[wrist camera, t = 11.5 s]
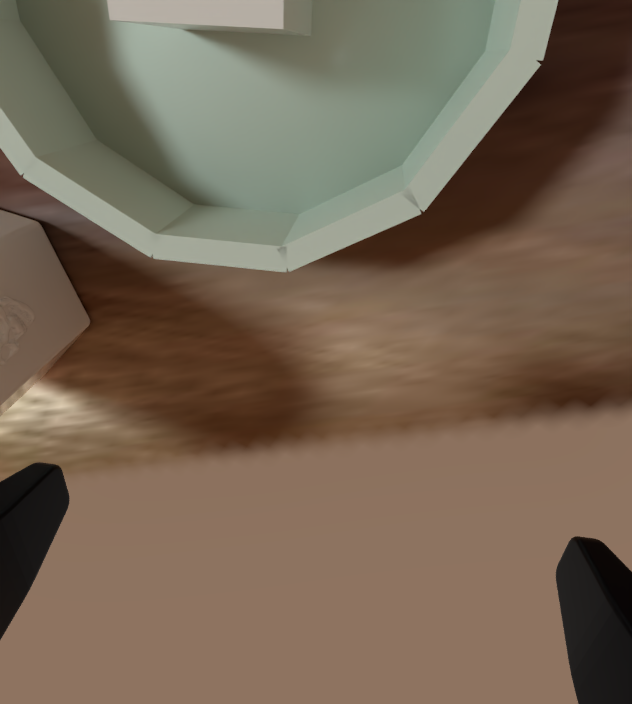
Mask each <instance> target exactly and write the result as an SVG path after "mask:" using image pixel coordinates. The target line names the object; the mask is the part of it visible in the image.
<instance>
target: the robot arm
mask: <svg viewBox="0 0 632 704" xmlns="http://www.w3.org/2000/svg"><path fill="white" fill-rule="evenodd" d="M68 505H69V493H68V490H67V486H66V483H65V479H64V476H63V472H62V469H61V468H60V467H59V466H58V465H55V464H48V463H40V462H38V463H34V464H31V465H29V466H28V467H26V468H24V469H22V470H21V471H19V472H17V473H15V474H13V475H12V476H10V477H8V478H6V479H5V480H3V481H1V482H0V639H1V638H2V636H3V634H4V633H5V631H6V629H7V628H8V626H9V624H10V623H11V621H12V619H13V617H14V616H15V614H16V612H17V611H18V609H19V607H20V606H21V604H22V602H23V600H24V599H25V597H26V595H27V593H28V591H29V590H30V587H31V586H32V584H33V582H34V580H35V578H36V576H37V574H38V571H39V569H40V567H41V565H42V563H43V560H44V558H45V556H46V554H47V552H48V550H49V547H50V545H51V543H52V541H53V539H54V537H55V535H56V533H57V530H58V528H59V526H60V524H61V522H62V520H63V517H64V515H65V513H66V511H67V509H68ZM556 582H557V589H558V595H559V602H560V608H561V614H562V621H563V627H564V634H565V640H566V646H567V653H568V659H569V665H570V670H571V675H572V680H573V683H574V688H575V692H576V696H577V700H578V703H579V704H632V572H631V571H630V570H629V569H628V568H627V567H626V566H625V564H624V563H623V562H622V561H621V560H620V559H618V557H616V555H615V554H614V553H613V552H612V551H611V550H610V549H609V548H608V547H607V546H606V545H605V544H604V543H603V542H601V541H600V540H597V539H593V538H585V537H573V538H572V539H571V540H570V541H569V543H568V545H567V547H566V549H565V551H564V553H563V555H562V557H561V560H560V561H559V563H558V566H557V570H556Z"/></svg>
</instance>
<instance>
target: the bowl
mask: <svg viewBox="0 0 632 704" xmlns="http://www.w3.org/2000/svg"><path fill="white" fill-rule="evenodd" d="M557 4H558V0H312V23H311V36H301V35H282V34H263V33H243V32H224V31H205V30H186V29H176V28H168V27H160V26H152V25H144V24H136V23H128V22H120V21H112V20H110V18H109V11H108V4H107V0H0V148H1V149H2V151H3V152H4V153H5V155H6V156H7V158H8V159H9V160H10V162H11V163H12V164H13V166H14V167H15V168H16V170H17V171H18V173H19V174H20V175H23V174H24V176H23V178H24V179H26V180H28V181H29V182H31V183H32V184H34V185H36V186H37V187H39V188H40V189H42V190H44V191H45V192H47V193H48V194H50V195H52V196H53V197H55V198H56V199H58V200H59V201H61V202H63V203H64V204H66V205H67V206H69V207H71V208H72V209H74V210H75V211H77V212H79V213H80V214H82V215H83V216H85V217H87V218H88V219H90V220H91V221H93V222H94V223H96V224H98V225H99V226H101V227H102V228H104V229H106V230H107V231H109V232H110V233H112V234H114V235H115V236H117V237H118V238H120V239H122V240H123V241H125V242H126V243H128V244H129V245H131V246H133V247H134V248H136V249H137V250H139V251H141V252H142V253H144V254H145V255H147V256H149V257H150V258H151V257H152V256H153V259H161V260H171V261H181V262H191V263H200V264H210V265H220V266H229V267H239V268H249V269H259V270H268V271H278V272H287V270H288V271H289V272H290V271H292V270H295V269H297V268H299V267H302V266H304V265H306V264H308V263H311V262H313V261H315V260H318V259H320V258H322V257H324V256H327V255H329V254H331V253H334V252H336V251H338V250H340V249H343V248H345V247H347V246H350V245H352V244H354V243H356V242H359V241H361V240H363V239H365V238H368V237H370V236H372V235H375V234H377V233H379V232H381V231H384V230H386V229H388V228H391V227H393V226H395V225H397V224H400V223H402V222H404V221H407V220H409V219H411V218H413V217H416V216H418V215H420V214H421V210H422V211H423V212H424V211H425V210H426V209H427V208H428V206H429V205H430V204H431V203H432V201H433V200H434V199H435V198H436V196H437V195H438V194H439V192H440V191H441V190H442V189H443V187H444V186H445V185H446V184H447V182H448V181H449V180H450V179H451V177H452V176H453V175H454V174H455V172H456V171H457V170H458V169H459V167H460V166H461V165H462V164H463V162H464V161H465V160H466V158H467V157H468V156H469V155H470V153H471V152H472V151H473V150H474V148H475V147H476V146H477V145H478V143H479V142H480V141H481V140H482V138H483V137H484V136H485V135H486V133H487V132H488V131H489V130H490V128H491V127H492V126H493V124H494V123H495V122H496V121H497V119H498V118H499V117H500V116H501V114H502V113H503V112H504V111H505V109H506V108H507V107H508V106H509V104H510V103H511V102H512V101H513V99H514V98H515V97H516V96H517V94H518V93H519V92H520V91H521V89H522V88H523V87H524V85H525V84H526V83H527V82H528V80H529V79H530V78H531V77H532V75H533V74H534V73H535V72H536V70H537V69H538V68H539V67H540V65H541V64H540V63H539V62H537V61H536V60H538V61H543V59H544V55H545V51H546V47H547V43H548V39H549V35H550V31H551V28H552V24H553V20H554V16H555V12H556V8H557Z"/></svg>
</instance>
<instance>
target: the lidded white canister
mask: <svg viewBox="0 0 632 704" xmlns="http://www.w3.org/2000/svg"><path fill="white" fill-rule="evenodd" d="M89 324H90V319H89V317H88V315H87V313H86V311H85V309H84V307H83V305H82V303H81V301H80V299H79V297H78V295H77V293H76V291H75V290H74V288H73V286H72V284H71V282H70V280H69V278H68V276H67V274H66V272H65V270H64V268H63V266H62V264H61V262H60V261H59V259H58V257H57V255H56V253H55V251H54V249H53V247H52V245H51V243H50V241H49V239H48V237H47V235H46V233H45V232H44V230H43V228H42V226H41V224H40V223H39V222H37V221H35V220H32V219H28V218H25V217H22V216H19V215H16V214H13V213H9V212H6V211H3V210H0V416H1V415H2V414H3V413H4V412H5V411H7V410H8V409H9V408H10V407H11V406H12V405H13V404H14V403H15V402H16V401H17V400H18V399H19V398H21V397H22V396H23V395H24V394H25V393H26V392H27V391H28V390H29V389H30V388H31V387H32V386H33V385H35V384H36V383H37V382H38V381H39V380H40V379H41V378H42V377H43V376H44V375H45V374H46V373H47V372H48V370H49V369H50V368H51V367H52V366H53V365H54V364H55V363H56V362H57V360H58V359H59V358H60V357H61V356H62V355H63V354H64V353H65V352H66V351H67V349H68V348H69V347H70V346H71V345H72V344H73V343H74V342H75V341H76V339H77V338H78V337H79V336H80V335H81V334H82V333H83V332H84V331H85V329H86V328H87V327H88V326H89Z"/></svg>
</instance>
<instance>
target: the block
mask: <svg viewBox="0 0 632 704" xmlns="http://www.w3.org/2000/svg"><path fill="white" fill-rule="evenodd" d="M107 4H108V11H109V18H110V20H112V21H120V22H128V23H136V24H144V25H152V26H160V27H168V28H176V29H186V30H205V31H224V32H243V33H263V34H282V35H301V36H311V23H312V0H107Z"/></svg>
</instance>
